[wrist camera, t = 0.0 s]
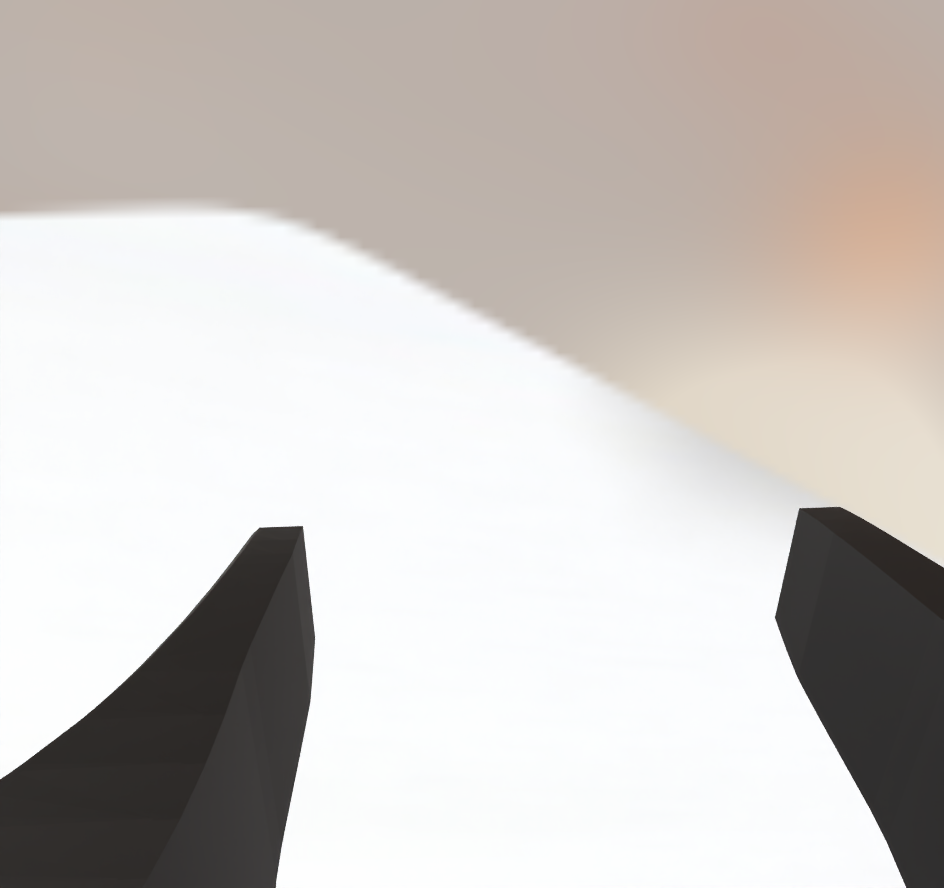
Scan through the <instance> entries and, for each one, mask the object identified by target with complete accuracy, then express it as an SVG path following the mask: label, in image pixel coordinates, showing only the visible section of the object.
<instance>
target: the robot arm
mask: <svg viewBox="0 0 944 888" xmlns="http://www.w3.org/2000/svg"><path fill="white" fill-rule="evenodd" d="M775 619H776V622H777V625H778V627H779V630H780V633H781V636H782V639H783V641H784V644H785V647H786V650H787V652H788V655H789V657H790V660H791V662H792V665H793V667H794V670H795V672H796V675H797V677H798V679H799V681H800V683H801V685H802V687H803V689H804V691H805V693H806V694H807V696H808V698H809V700H810V702H811V704H812V705H813V707H814V709H815V711H816V713H817V715H818V716H819V718H820V720H821V722H822V724H823V726H824V727H825V729H826V731H827V733H828V735H829V736H830V738H831V740H832V742H833V744H834V745H835V747H836V749H837V751H838V752H839V754H840V756H841V758H842V760H843V761H844V763H845V765H846V767H847V769H848V770H849V772H850V774H851V776H852V778H853V779H854V781H855V783H856V785H857V787H858V788H859V790H860V792H861V794H862V795H863V797H864V799H865V801H866V803H867V804H868V806H869V808H870V810H871V812H872V814H873V816H874V818H875V820H876V822H877V824H878V826H879V828H880V830H881V832H882V834H883V836H884V838H885V839H886V841H887V844H888V846H889V848H890V851H891V853H892V855H893V858H894V860H895V862H896V865H897V867H898V869H899V872H900V874H901V876H902V879H903V881H904V883H905V886H906V888H944V568H943V567H942V566H940V565H938V564H937V563H935V562H933V561H932V560H930V559H928V558H927V557H925V556H924V555H922V554H920V553H919V552H917V551H915V550H914V549H912V548H910V547H909V546H907V545H906V544H904V543H902V542H901V541H899V540H897V539H896V538H894V537H892V536H891V535H889V534H888V533H886V532H884V531H882V530H881V529H879V528H877V527H876V526H874V525H872V524H871V523H869V522H867V521H865V520H864V519H862V518H860V517H858V516H857V515H855V514H853V513H851V512H849V511H847V510H845V509H843V508H841V507H826V508H799V512H798V517H797V521H796V526H795V530H794V535H793V539H792V544H791V548H790V553H789V557H788V562H787V566H786V571H785V575H784V580H783V584H782V589H781V593H780V598H779V602H778V607H777V611H776V616H775ZM314 646H315V633H314V624H313V615H312V606H311V596H310V587H309V578H308V569H307V560H306V551H305V542H304V532H303V526H295V527H267V528H259V529H258V530H257V531H256V532H255V533H254V534H253V535H252V536H251V537H250V538H249V540H248V541H247V542H246V544H245V545H244V546H243V548H242V549H241V550H240V552H239V553H238V554H237V556H236V557H235V558H234V560H233V561H232V562H231V564H230V565H229V566H228V567H227V569H226V570H225V571H224V573H223V574H222V575H221V576H220V578H219V579H218V580H217V581H216V583H215V584H214V585H213V586H212V588H211V589H210V590H209V591H208V592H207V594H206V595H205V596H204V597H203V598H202V599H201V601H200V602H199V603H198V604H197V605H196V607H195V608H194V609H193V610H192V611H191V612H190V614H189V615H188V616H187V617H186V618H185V619H184V621H183V622H182V623H181V624H180V625H179V626H178V627H177V628H176V629H175V631H174V632H173V633H172V634H171V635H170V636H169V637H168V638H167V639H166V640H165V641H164V642H163V643H162V644H161V645H160V646H159V647H158V648H157V649H156V651H155V652H154V653H153V654H152V655H151V656H150V657H149V658H148V659H147V660H146V661H145V662H144V663H143V664H142V665H141V666H140V667H139V668H138V669H137V670H136V671H135V672H134V673H133V674H132V675H131V676H130V677H129V678H128V679H127V680H126V681H125V682H124V683H122V684H121V685H120V686H119V687H118V688H117V689H116V690H115V691H114V692H113V693H112V694H110V695H109V696H108V697H107V698H106V699H105V700H104V701H103V702H101V703H100V704H99V705H98V706H97V707H96V708H95V709H93V710H92V711H91V712H90V713H89V714H87V715H86V716H85V717H84V718H83V719H81V720H80V721H79V722H77V723H76V724H75V725H73V726H72V727H71V728H70V729H68V730H67V731H66V732H64V733H63V734H62V735H60V736H59V737H58V738H56V739H55V740H54V741H52V742H51V743H50V744H48V745H47V746H46V747H44V748H43V749H42V750H40V751H39V752H38V753H37V754H35V755H34V756H33V757H31V758H30V759H29V760H27V761H26V762H25V763H23V764H22V765H21V766H19V767H18V768H16V769H15V770H13V771H12V772H11V773H9V774H8V775H6V776H5V777H3V778H2V779H0V888H276V878H277V872H278V866H279V859H280V853H281V846H282V841H283V836H284V831H285V826H286V821H287V816H288V811H289V806H290V801H291V797H292V792H293V787H294V782H295V777H296V772H297V767H298V762H299V757H300V752H301V747H302V742H303V737H304V731H305V726H306V721H307V716H308V711H309V706H310V699H311V686H312V674H313V660H314Z"/></svg>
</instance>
